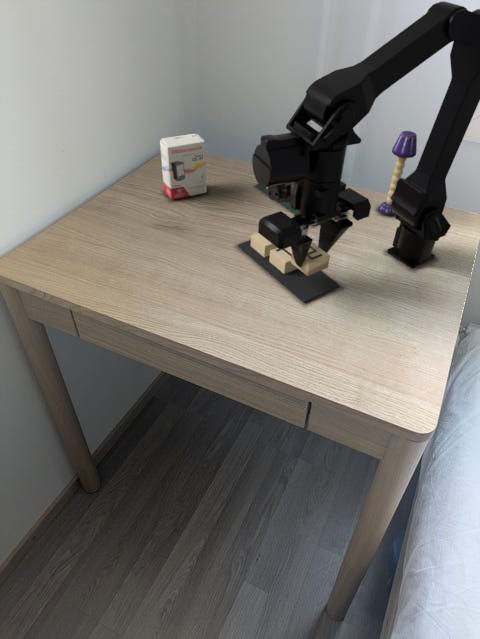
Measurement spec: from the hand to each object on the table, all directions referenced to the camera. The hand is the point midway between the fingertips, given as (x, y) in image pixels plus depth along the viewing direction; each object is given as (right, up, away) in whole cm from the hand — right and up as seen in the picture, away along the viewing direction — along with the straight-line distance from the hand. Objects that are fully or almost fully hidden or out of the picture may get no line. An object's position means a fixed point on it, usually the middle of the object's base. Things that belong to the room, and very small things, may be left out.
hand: (309, 260), depth 83 cm
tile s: (0, -1, +1) cm, 1 cm away
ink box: (-24, +18, +27) cm, 40 cm away
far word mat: (+1, +16, +25) cm, 30 cm away
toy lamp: (+20, +13, +23) cm, 33 cm away
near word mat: (-3, 0, +7) cm, 8 cm away
